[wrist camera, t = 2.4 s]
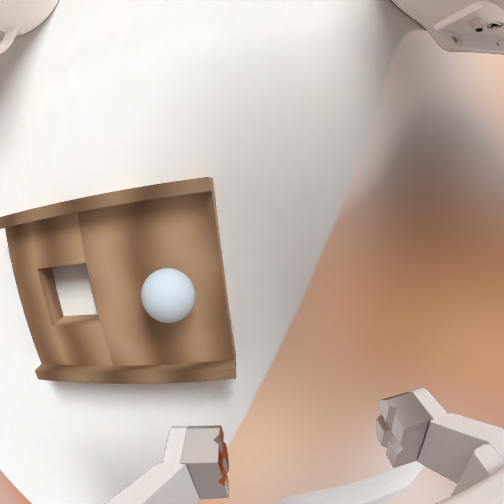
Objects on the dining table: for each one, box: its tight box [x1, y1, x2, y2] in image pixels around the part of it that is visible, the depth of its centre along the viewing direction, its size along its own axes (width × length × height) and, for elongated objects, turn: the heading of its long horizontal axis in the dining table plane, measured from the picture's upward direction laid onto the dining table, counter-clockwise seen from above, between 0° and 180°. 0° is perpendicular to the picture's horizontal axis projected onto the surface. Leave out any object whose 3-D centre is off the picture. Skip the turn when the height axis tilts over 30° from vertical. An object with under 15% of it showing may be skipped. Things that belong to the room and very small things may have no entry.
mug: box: [0, 0, 58, 54], centre depth 15 cm, size 12×8×10 cm
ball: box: [141, 268, 195, 323], centre depth 23 cm, size 4×4×4 cm
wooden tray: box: [0, 177, 236, 384], centre depth 25 cm, size 20×16×4 cm
